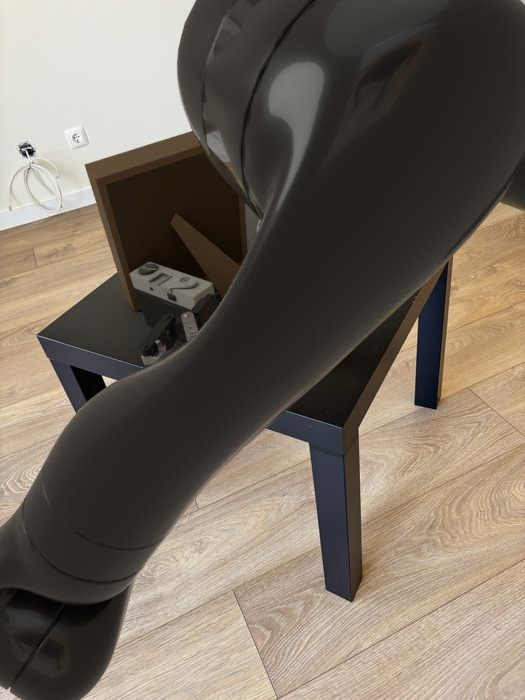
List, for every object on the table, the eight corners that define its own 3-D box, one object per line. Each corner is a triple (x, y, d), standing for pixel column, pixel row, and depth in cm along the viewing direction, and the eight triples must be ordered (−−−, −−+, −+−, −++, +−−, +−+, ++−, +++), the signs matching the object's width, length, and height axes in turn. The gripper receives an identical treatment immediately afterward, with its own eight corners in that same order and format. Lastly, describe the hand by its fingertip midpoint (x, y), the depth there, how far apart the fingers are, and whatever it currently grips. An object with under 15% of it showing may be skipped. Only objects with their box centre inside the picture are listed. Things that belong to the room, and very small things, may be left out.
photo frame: (126, 301, 91) (74, 155, 75) (237, 256, 98) (209, 114, 82) (158, 342, 80) (104, 181, 65) (279, 288, 87) (256, 131, 72)
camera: (244, 324, 81) (232, 267, 74) (206, 354, 76) (190, 295, 70) (182, 300, 89) (167, 246, 82) (144, 326, 84) (125, 271, 78)
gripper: (244, 399, 37) (315, 279, 49) (84, 368, 43) (181, 267, 54) (259, 467, 42) (321, 343, 53) (113, 432, 47) (197, 326, 59)
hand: (250, 305), depth 54 cm, fingers open, 8 cm apart
